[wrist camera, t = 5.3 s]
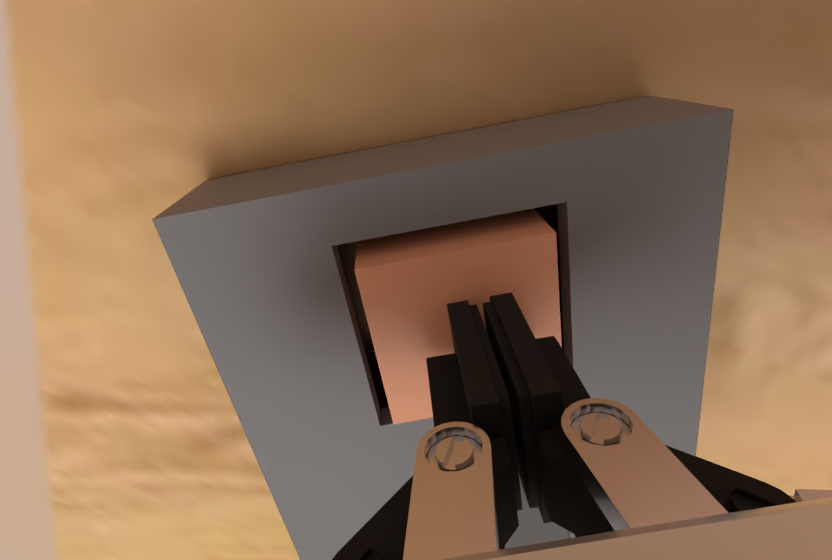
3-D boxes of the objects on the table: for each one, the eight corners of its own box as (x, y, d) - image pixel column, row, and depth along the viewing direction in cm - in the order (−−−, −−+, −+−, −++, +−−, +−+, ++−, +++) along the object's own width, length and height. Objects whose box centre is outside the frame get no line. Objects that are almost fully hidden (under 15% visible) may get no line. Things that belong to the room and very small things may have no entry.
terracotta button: (512, 186, 16) (556, 232, 12) (523, 317, 18) (564, 393, 14) (361, 215, 16) (354, 270, 12) (391, 341, 18) (393, 424, 14)
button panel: (648, 95, 15) (733, 109, 11) (630, 609, 26) (669, 697, 23) (207, 179, 15) (152, 219, 11) (381, 652, 27) (381, 745, 23)
